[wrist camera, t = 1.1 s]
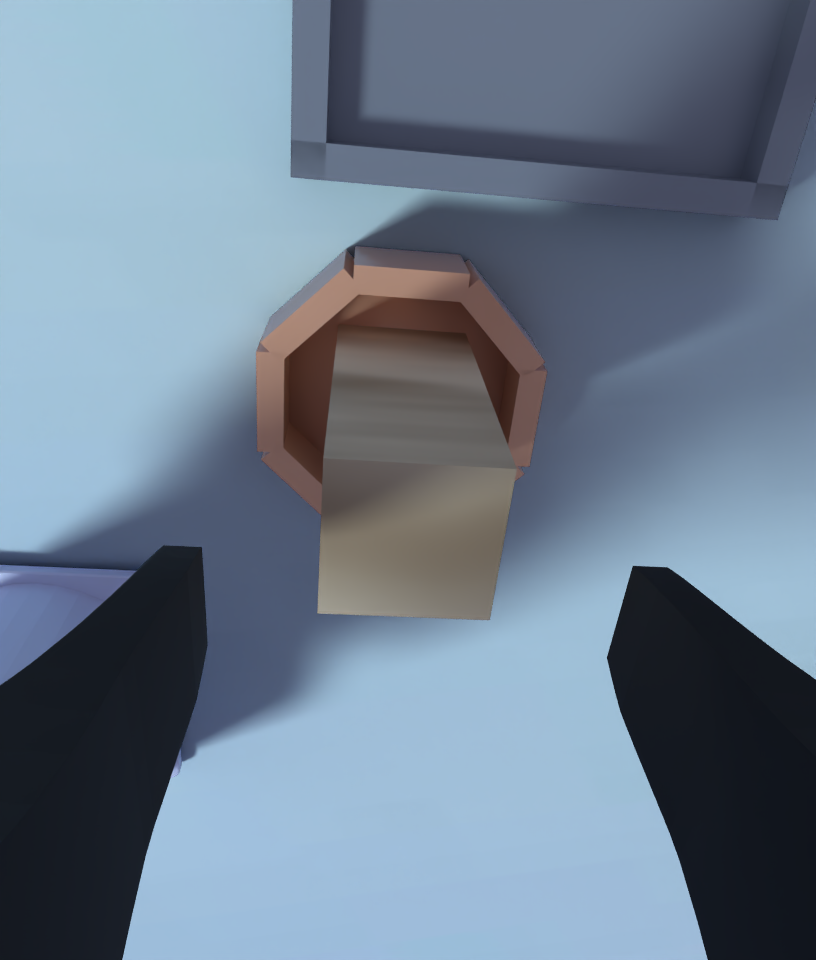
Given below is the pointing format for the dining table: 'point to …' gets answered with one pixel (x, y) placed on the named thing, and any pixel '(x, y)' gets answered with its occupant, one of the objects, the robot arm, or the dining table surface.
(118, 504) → the dining table surface
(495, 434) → the beech peg
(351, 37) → the slate tray
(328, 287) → the terracotta octagonal bowl
